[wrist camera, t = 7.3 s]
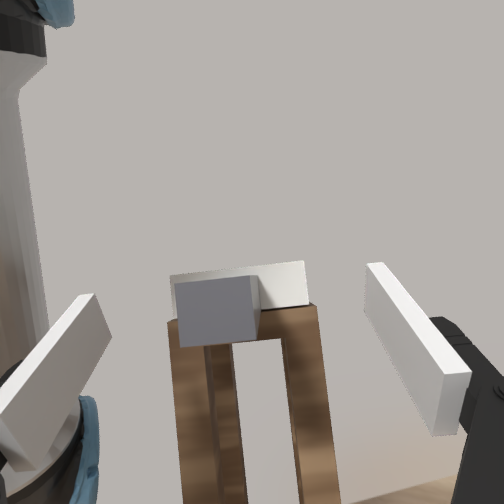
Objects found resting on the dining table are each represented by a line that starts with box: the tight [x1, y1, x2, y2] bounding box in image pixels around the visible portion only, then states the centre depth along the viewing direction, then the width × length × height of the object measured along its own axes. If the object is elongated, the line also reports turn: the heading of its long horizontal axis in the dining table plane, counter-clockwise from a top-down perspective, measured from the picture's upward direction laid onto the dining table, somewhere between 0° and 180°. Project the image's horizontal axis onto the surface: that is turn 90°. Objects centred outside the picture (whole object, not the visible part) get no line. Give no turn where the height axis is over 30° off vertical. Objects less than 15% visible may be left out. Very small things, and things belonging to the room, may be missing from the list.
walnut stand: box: [167, 302, 341, 504], centre depth 30 cm, size 16×11×30 cm
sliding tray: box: [170, 261, 309, 348], centre depth 26 cm, size 27×10×3 cm, turn 178°
